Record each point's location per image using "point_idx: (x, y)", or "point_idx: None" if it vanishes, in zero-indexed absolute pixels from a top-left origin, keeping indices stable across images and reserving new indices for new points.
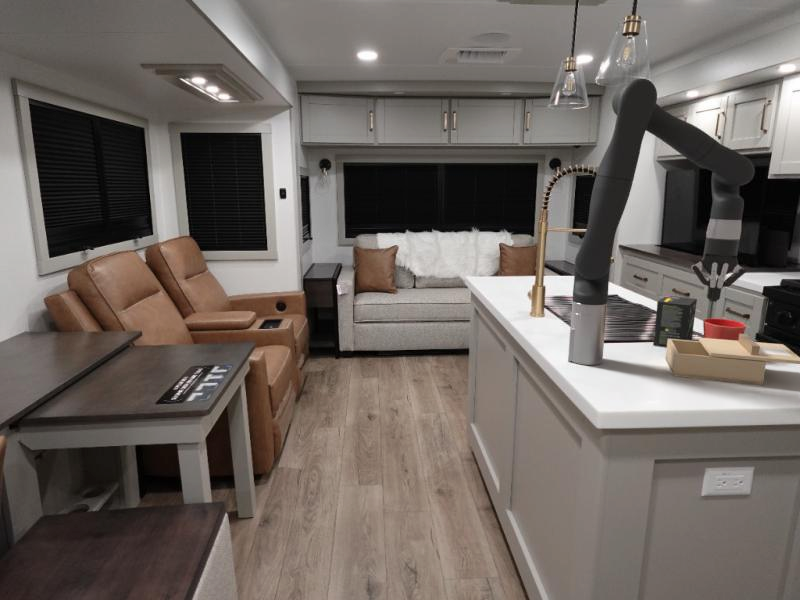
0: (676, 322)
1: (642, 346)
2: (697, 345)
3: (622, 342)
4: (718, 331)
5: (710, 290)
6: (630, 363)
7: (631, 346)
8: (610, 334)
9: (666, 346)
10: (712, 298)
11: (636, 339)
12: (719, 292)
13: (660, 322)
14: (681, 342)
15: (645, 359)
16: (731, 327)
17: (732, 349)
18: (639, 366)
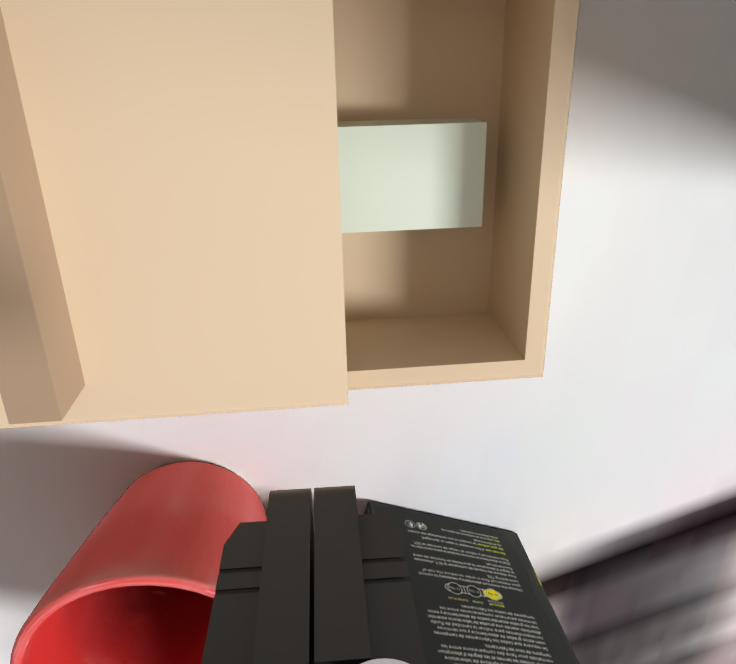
0: (459, 636)
1: (576, 494)
2: (351, 359)
3: (664, 522)
4: (204, 554)
5: (391, 629)
6: (724, 141)
7: (634, 472)
8: (690, 628)
9: (457, 523)
10: (334, 510)
11: (579, 597)
12: (230, 621)
13: (545, 636)
14: (454, 358)
15: (616, 259)
16: (112, 580)
17: (141, 135)
18: (686, 97)
